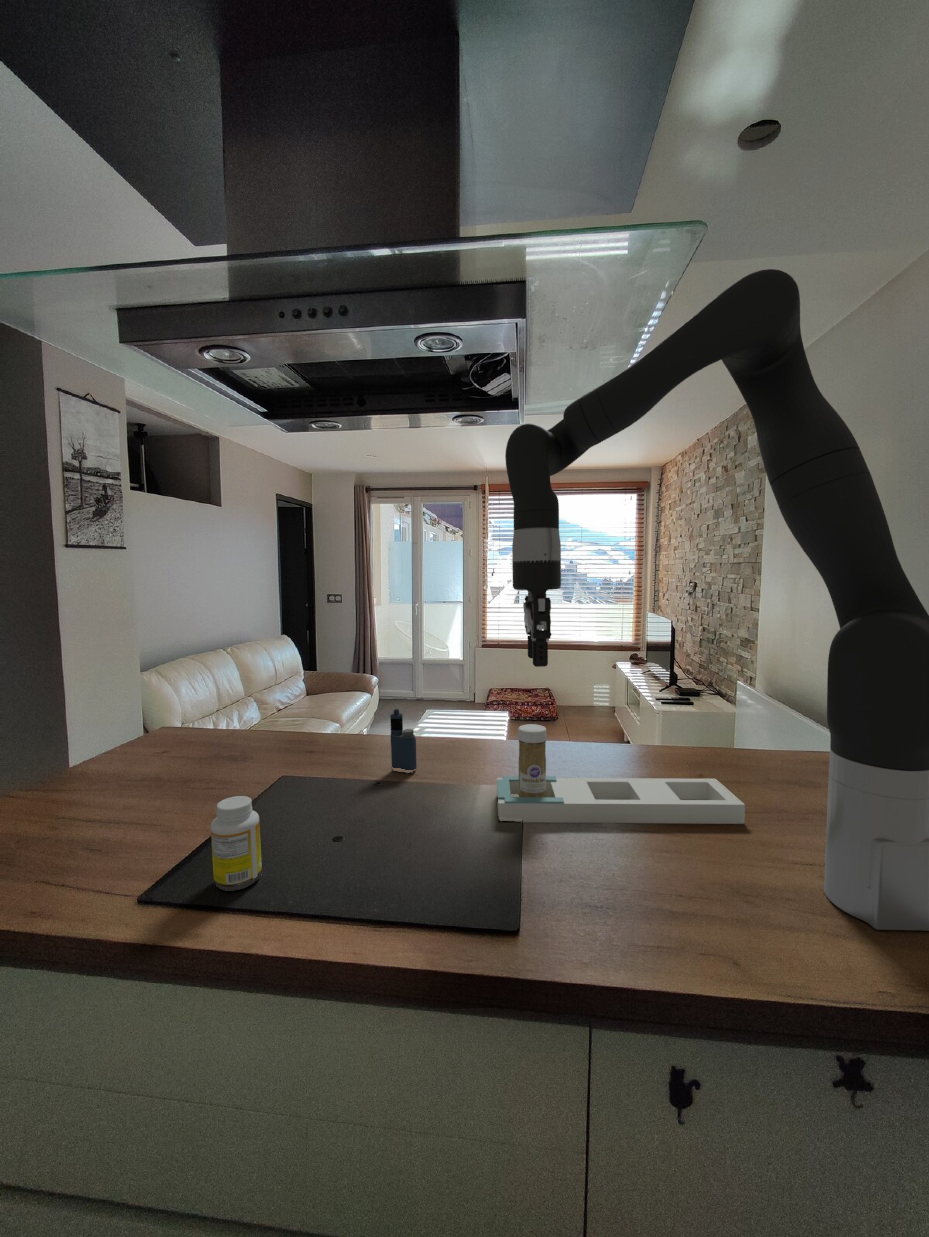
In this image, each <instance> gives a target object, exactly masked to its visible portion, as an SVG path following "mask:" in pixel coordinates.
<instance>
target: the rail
mask: <svg viewBox="0 0 929 1237" xmlns="http://www.w3.org/2000/svg"><path fill="white" fill-rule="evenodd" d="M545 791H546V795H545V797H511V794H518V795H519V775H516V776H514V775H510V776H509V775H505V776H503V775H502V777H496V795H497V797H498V802H497V815H498V816H499V817H506V818H518V819H519V818H521V819H522V820H523V822H522V823H553V824H554V823H558V824H559V823H567V824H568V823H569V824H570V823H571V824H572V823H573V824H574V823H576V824H577V823H578V824H579V823H581V824H583V823H584V824H590V823H591V824H698V825H699V824H708V825H709V824H712V825H713V824H716V825H719V824H720V825H721V824H723V825H727V824H728V825H730V824H732V825H744V824H745V820H746V819H745V818H746V817H745V814H746V804H745V803H744V802H743V801H742V800H741V799H739V798H738V797H737V796H735V795H734V793H732V792H731V791H730V790H729V789H728V788H727V787H726V786H725V785H723V784H722V783H721V782H720V781H719V780H717V779H716V778H676V777H675V778H673V777H672V778H671V777H670V778H659V777H658V778H657V777H656V778H655V777H654V778H653V777H650V778H639V777H638V778H636V777H634V778H633V777H632V778H631V777H629V778H626V777H624V778H623V777H622V778H621V777H617V778H615V777H614V778H611V777H610V778H609V777H607V778H606V777H601V778H600V777H598V778H597V777H589V778H588V777H585V778H584V777H569V778H568V777H557V776H554V775H553V776H549V775H546V790H545ZM497 797H496V798H497ZM498 816H497V817H498Z"/></svg>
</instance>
